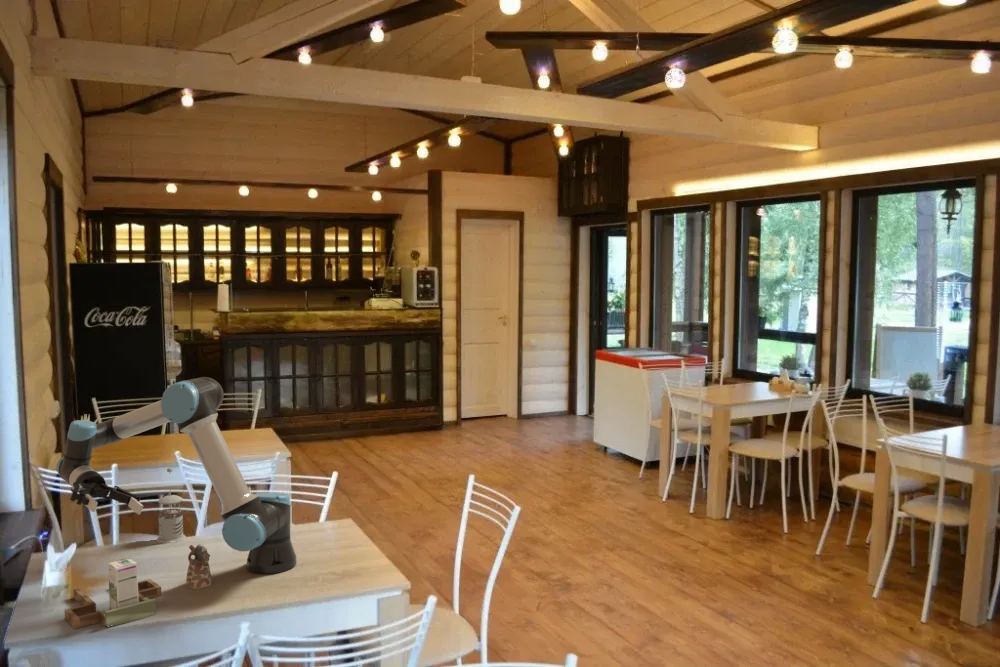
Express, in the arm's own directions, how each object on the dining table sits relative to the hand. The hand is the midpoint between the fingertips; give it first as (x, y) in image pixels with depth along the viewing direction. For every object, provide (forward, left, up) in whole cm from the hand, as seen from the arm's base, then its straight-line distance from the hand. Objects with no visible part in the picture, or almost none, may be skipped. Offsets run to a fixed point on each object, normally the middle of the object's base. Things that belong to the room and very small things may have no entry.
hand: (118, 508), depth 228 cm
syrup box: (-12, +12, -25) cm, 30 cm away
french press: (+19, -46, -25) cm, 56 cm away
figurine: (-17, -12, -25) cm, 33 cm away
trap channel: (-4, +8, -25) cm, 26 cm away
